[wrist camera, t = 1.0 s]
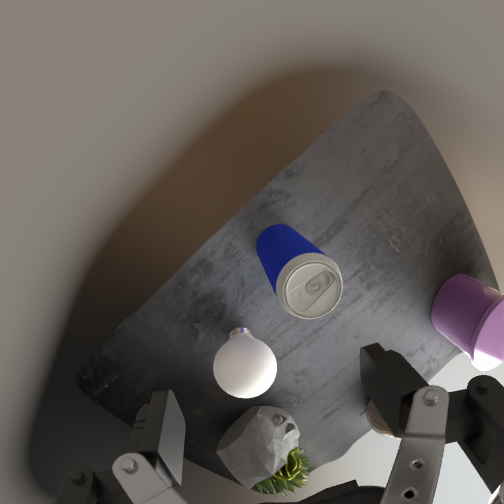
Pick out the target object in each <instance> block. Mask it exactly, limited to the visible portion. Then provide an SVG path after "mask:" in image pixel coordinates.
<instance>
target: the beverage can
mask: <svg viewBox="0 0 504 504" xmlns="http://www.w3.org/2000/svg"><path fill="white" fill-rule="evenodd" d="M256 249H257V254H258V256H259V259H260V261H261V263H262V265H263V267H264V270H265V272H266V274H267V276H268V279H269V281H270V283H271V285H272V287H273V290H274V292H275V294H276V296H277V299H278V301H279V303H280V304H281V306H282V307H283V308H284V309H285V310H286V311H287V312H289V313H290V314H292V315H294V316H297V317H299V318H303V319H316V318H320V317H323V316H325V315H326V314H328V313H329V312H331V311H332V310H333V309H334V308H335V306H336V305H337V304H338V302H339V300H340V298H341V294H342V288H343V285H342V277H341V273H340V270H339V268H338V266H337V265H336V263H335V262H334V261H333V260H332V259H330V258H329V257H328V256H327V255H325V254H324V253H323V252H322V251H320V250H319V249H318V248H317V247H315V246H314V245H313V244H312V243H310V242H309V241H308V240H306V239H305V238H304V237H303V236H301V235H300V234H299V233H298V232H296V231H295V230H294V229H292V228H291V227H289V226H287V225H282V224H277V225H272V226H270V227H268V228H266V229H265V230H264V231H263V232H262V233H261V234H260V236H259V238H258V241H257V248H256Z"/></svg>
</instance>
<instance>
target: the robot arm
mask: <svg viewBox="0 0 504 504" xmlns="http://www.w3.org/2000/svg"><path fill="white" fill-rule="evenodd" d="M360 373H361V381H362V385H363V387H364V389H365V391H366V392H367V394H368V395H369V397H370V399H371V400H372V402H373V403H374V405H375V406H376V408H377V410H378V411H379V413H380V414H381V416H382V417H383V419H384V421H385V422H386V424H387V425H388V427H389V429H390V430H391V432H392V433H393V435H394V436H395V438H397V437H399V436H402V435H403V436H402V440H401V443H400V446H399V449H398V453H397V456H396V459H395V463H394V465H393V468H392V471H391V474H390V477H389V480H388V482H387V485H386V488H385V487H380V486H358V484H357V482H356V480H352V481H349V482H346V483H343V484H340V485H336V486H333V487H330V488H326V489H324V490H323V491H320V492H318V493H316V494H315V495H312V496H310V497H308V498H306V499H304V500H302V501H299V502H294V503H293V502H288V503H268V502H265V503H259V504H432V503H433V499H434V495H435V491H436V486H437V482H438V478H439V473H440V468H441V463H442V458H443V452H444V446H445V444H447V443H452V442H458V444H459V445H460V447H461V448H462V450H463V451H464V453H465V454H466V455H467V457H468V458H469V460H470V461H471V463H472V464H473V466H474V467H475V469H476V470H477V472H478V474H479V475H480V477H481V478H482V479H483V481H484V483H485V484H486V486H487V487H488V489H489V490H490V492H491V494H492V495H493V496H492V497H491V499H490V501H489V504H504V387H503V386H502V385H501V384H500V383H499V382H498V381H497V380H496V379H495V378H493V377H491V376H487V375H479V376H476V377H474V378H472V379H471V380H470V381H469V383H468V386H467V389H463V390H459V391H454V392H447V391H446V390H445V389H443V388H442V387H439V386H433V385H429V384H428V383H427V382H426V381H425V380H424V379H423V378H422V377H421V376H420V374H419V373H418V372H417V371H416V370H415V369H414V368H412V366H411V365H410V364H409V363H408V362H407V360H406V359H405V358H404V357H403V356H402V355H401V354H399V353H397V352H395V351H393V350H389V351H385V350H384V349H383V348H382V347H381V346H380V344H379V343H374V344H371V345H368V346H365V347H361V348H360ZM135 421H136V423H135V424H134V427H133V428H134V430H133V431H132V435H131V438H130V442H129V446H128V449H127V453H126V454H124V455H122V456H120V457H119V458H118V459H117V460H116V461H115V462H114V464H113V467H112V468H110V469H107V470H103V471H99V472H93V471H92V469H91V468H89V467H88V466H85V465H77V466H74V467H72V468H70V469H69V470H68V471H67V472H66V473H65V475H64V476H63V479H62V482H61V486H60V489H59V492H58V495H57V498H56V502H55V504H188V503H187V502H186V501H185V500H184V499H183V498H182V497H181V496H180V495H179V494H178V493H177V492H176V491H175V490H174V489H173V488H172V487H179V486H181V474H182V461H183V450H184V439H185V428H186V427H185V420H184V416H183V414H182V412H181V409H180V407H179V405H178V403H177V400H176V398H175V396H174V393H173V392H172V390H163V391H155V392H153V395H152V398H151V402H150V404H144V405H143V407H142V408H141V409H140V410H139V411H138V413H137V417H136V420H135Z"/></svg>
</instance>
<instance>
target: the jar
mask: <svg viewBox="0 0 504 504" xmlns="http://www.w3.org/2000/svg"><path fill="white" fill-rule="evenodd" d="M431 320H432V324H433V326H434V328H435V329H436V330H437V331H438V332H439V333H441V334H442V335H443V336H444V337H446V338H447V339H448V340H449V341H451V342H452V343H453V344H454V345H456V346H457V347H458V348H459V349H460V350H462V351H463V352H464V353H465V354H467V355H468V356H469V357H470V359H471V362H472V364H473V365H474V366H475V367H476V368H478V369H479V370H481V371H487V370H490V369H493V368H494V367H496V366H497V365H499V364H500V363H501V362H502V361H503V360H504V293H502V292H500V291H498V290H496V289H494V288H492V287H491V286H489V285H487V284H485V283H483V282H481V281H479V280H477V279H474V278H472V277H470V276H468V275H466V274H458V275H455V276H453V277H451V278H450V279H448V280H447V281H446V282H445V283H444V284H443V285H442V287H441V288H440V290H439V291H438V293H437V295H436V297H435V299H434V302H433V305H432V310H431Z"/></svg>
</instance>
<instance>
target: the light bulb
mask: <svg viewBox="0 0 504 504" xmlns="http://www.w3.org/2000/svg"><path fill="white" fill-rule="evenodd" d="M213 371H214V376H215V379H216V381H217V383H218V384H219V386H220V387H221V388H222V389H223V390H224V391H225V392H227V393H228V394H230V395H232V396H234V397H238V398H251V397H255V396H258V395H260V394H262V393H264V392H265V391H266V390H267V389H268V388H269V387H270V386H271V384H272V383H273V381H274V379H275V376H276V372H277V364H276V359H275V356H274V354H273V352H272V350H271V349H270V348H269V347H268V346H267V345H266V344H265V343H263V342H262V341H260V340H258V339H256V338H253V335H252V332H251V331H250V330H249V329H247V328H245V327H237V328H235V329H233V330H232V331H231V333H230V334H229V341H228V342H226V343H225V344H224V345H223V346H222V347H221V348H220V349H219V351H218V352H217V354H216V356H215V359H214V364H213Z"/></svg>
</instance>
